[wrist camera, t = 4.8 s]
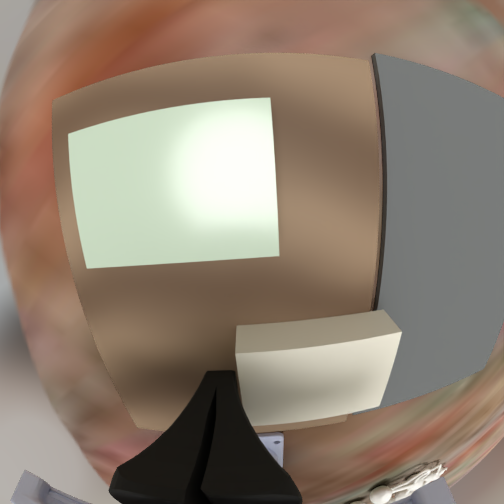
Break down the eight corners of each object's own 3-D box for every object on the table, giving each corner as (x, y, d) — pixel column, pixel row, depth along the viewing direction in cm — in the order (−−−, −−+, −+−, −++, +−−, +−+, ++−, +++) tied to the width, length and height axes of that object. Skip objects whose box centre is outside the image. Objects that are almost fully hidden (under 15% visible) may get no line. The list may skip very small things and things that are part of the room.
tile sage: (273, 239, 11) (279, 256, 9) (109, 252, 11) (86, 268, 9) (265, 110, 9) (270, 97, 7) (94, 136, 9) (67, 133, 7)
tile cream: (367, 382, 13) (379, 406, 12) (245, 398, 13) (245, 426, 12) (383, 309, 12) (402, 331, 10) (236, 325, 12) (235, 353, 10)
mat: (481, 366, 16) (483, 368, 16) (351, 411, 16) (352, 414, 16) (521, 110, 10) (524, 110, 9) (371, 55, 10) (375, 53, 9)
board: (340, 405, 16) (345, 421, 15) (142, 412, 16) (137, 427, 15) (355, 70, 10) (368, 60, 8) (69, 104, 10) (52, 100, 8)
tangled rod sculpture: (460, 447, 26) (470, 461, 22) (408, 493, 28) (415, 507, 24) (395, 462, 22) (407, 484, 18) (332, 510, 25) (338, 529, 21)
